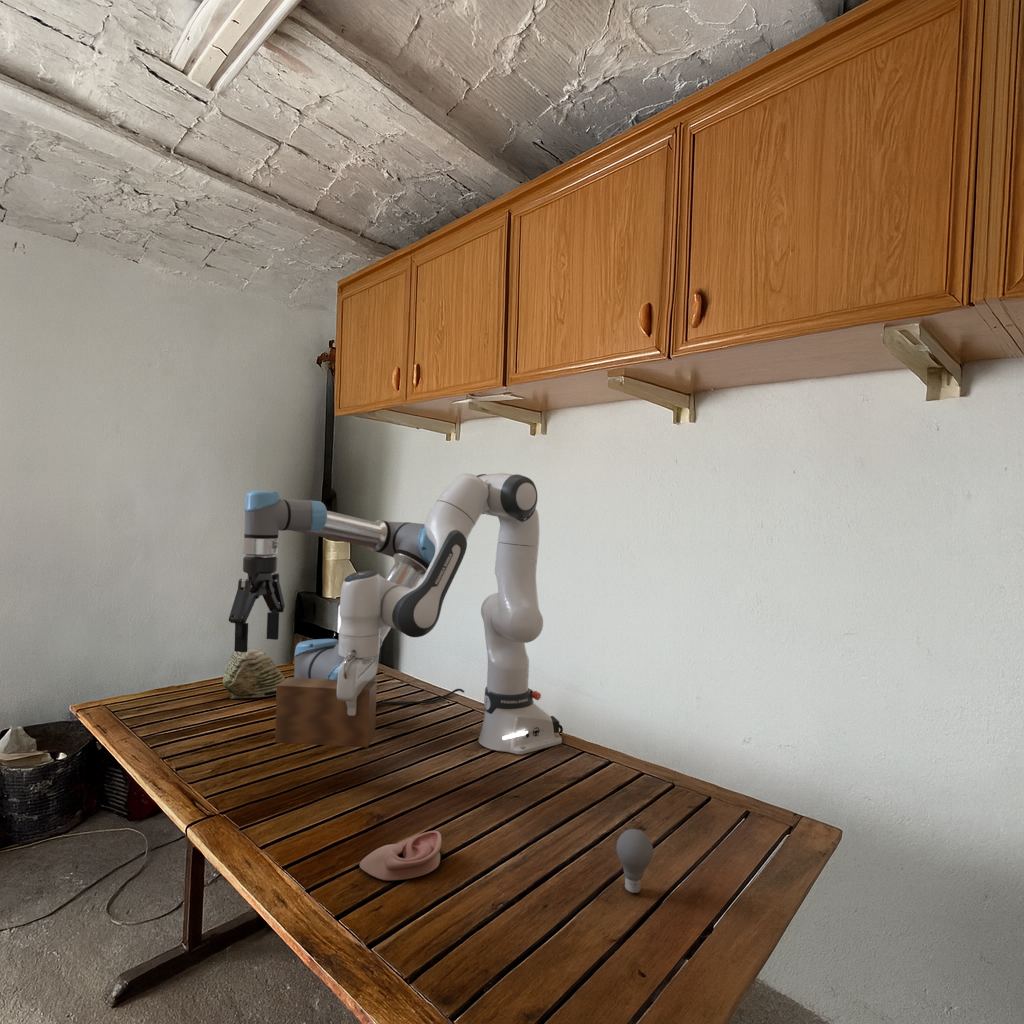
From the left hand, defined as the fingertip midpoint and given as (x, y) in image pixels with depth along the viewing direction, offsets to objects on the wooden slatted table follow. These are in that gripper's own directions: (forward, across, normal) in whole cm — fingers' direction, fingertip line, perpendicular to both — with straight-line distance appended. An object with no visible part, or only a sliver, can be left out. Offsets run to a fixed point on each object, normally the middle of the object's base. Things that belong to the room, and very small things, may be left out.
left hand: (257, 645), depth 150 cm
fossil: (+27, +44, +26) cm, 58 cm away
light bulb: (+27, -32, -88) cm, 97 cm away
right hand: (+10, -7, -28) cm, 31 cm away
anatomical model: (+27, -33, -48) cm, 64 cm away
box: (+18, -8, -22) cm, 29 cm away
